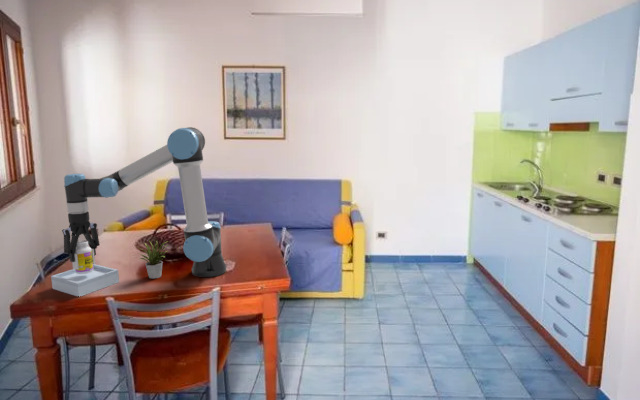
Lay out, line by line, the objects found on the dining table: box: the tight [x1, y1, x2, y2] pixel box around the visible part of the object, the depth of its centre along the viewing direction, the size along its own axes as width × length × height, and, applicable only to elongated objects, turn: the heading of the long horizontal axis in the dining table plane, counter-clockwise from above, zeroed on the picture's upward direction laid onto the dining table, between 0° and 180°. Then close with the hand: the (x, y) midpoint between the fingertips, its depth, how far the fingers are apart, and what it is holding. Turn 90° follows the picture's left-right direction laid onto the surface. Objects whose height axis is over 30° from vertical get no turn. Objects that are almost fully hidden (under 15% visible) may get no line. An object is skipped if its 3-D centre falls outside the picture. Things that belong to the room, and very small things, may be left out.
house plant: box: [136, 240, 169, 279], centre depth 199 cm, size 14×14×16 cm
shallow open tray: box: [50, 263, 120, 298], centre depth 190 cm, size 18×18×6 cm
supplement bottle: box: [75, 240, 93, 274], centre depth 188 cm, size 7×7×13 cm
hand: (84, 266), depth 189 cm, fingers closed on supplement bottle, 7 cm apart
